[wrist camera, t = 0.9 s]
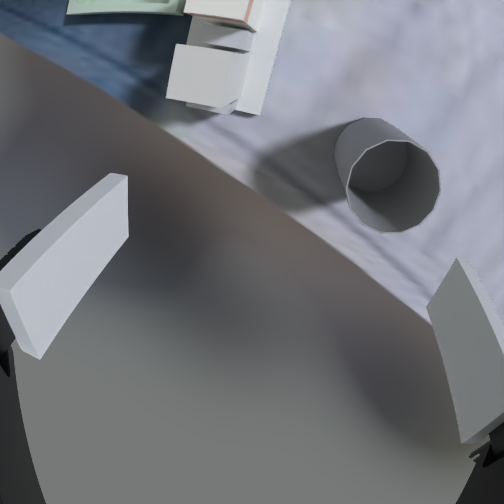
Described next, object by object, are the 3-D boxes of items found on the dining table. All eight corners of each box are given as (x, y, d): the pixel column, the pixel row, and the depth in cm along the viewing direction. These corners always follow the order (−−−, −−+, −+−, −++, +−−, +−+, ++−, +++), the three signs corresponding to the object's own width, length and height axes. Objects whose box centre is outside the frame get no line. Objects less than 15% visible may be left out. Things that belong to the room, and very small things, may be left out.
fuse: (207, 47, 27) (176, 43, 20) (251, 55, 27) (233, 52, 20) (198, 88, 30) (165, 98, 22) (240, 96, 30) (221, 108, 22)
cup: (366, 101, 29) (392, 117, 21) (420, 150, 31) (458, 183, 23) (318, 161, 34) (325, 197, 25) (374, 203, 35) (394, 250, 27)
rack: (224, -75, 20) (211, -95, 15) (310, -63, 20) (312, -83, 15) (180, 96, 32) (160, 103, 27) (261, 113, 32) (255, 122, 27)
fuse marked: (223, -14, 23) (197, -38, 16) (267, -7, 23) (256, -32, 16) (213, 24, 26) (183, 12, 18) (257, 32, 26) (242, 19, 18)
